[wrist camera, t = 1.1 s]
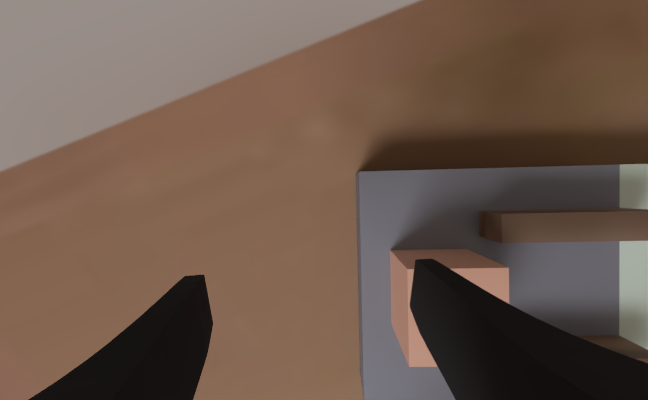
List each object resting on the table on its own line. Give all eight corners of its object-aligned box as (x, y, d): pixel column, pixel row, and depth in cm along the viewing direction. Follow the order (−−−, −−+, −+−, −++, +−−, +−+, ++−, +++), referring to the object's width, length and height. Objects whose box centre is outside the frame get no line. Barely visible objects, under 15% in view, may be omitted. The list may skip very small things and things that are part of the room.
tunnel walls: (619, 360, 18) (664, 387, 16) (480, 360, 18) (503, 387, 16) (619, 207, 18) (665, 210, 15) (478, 210, 18) (501, 213, 16)
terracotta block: (467, 323, 18) (509, 366, 14) (391, 324, 19) (409, 366, 14) (466, 248, 18) (509, 267, 14) (390, 250, 18) (407, 269, 14)
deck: (811, 372, 21) (891, 403, 18) (360, 372, 22) (363, 401, 19) (815, 162, 20) (898, 156, 17) (355, 174, 21) (359, 171, 18)
